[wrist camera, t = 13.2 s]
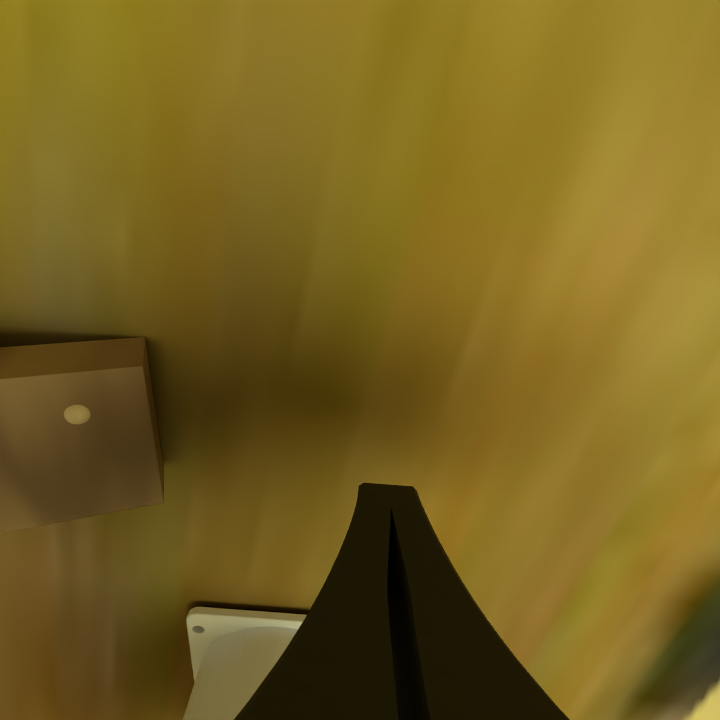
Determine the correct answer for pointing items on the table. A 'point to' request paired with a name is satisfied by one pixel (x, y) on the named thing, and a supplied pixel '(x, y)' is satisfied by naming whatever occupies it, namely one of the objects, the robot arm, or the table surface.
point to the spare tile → (77, 432)
